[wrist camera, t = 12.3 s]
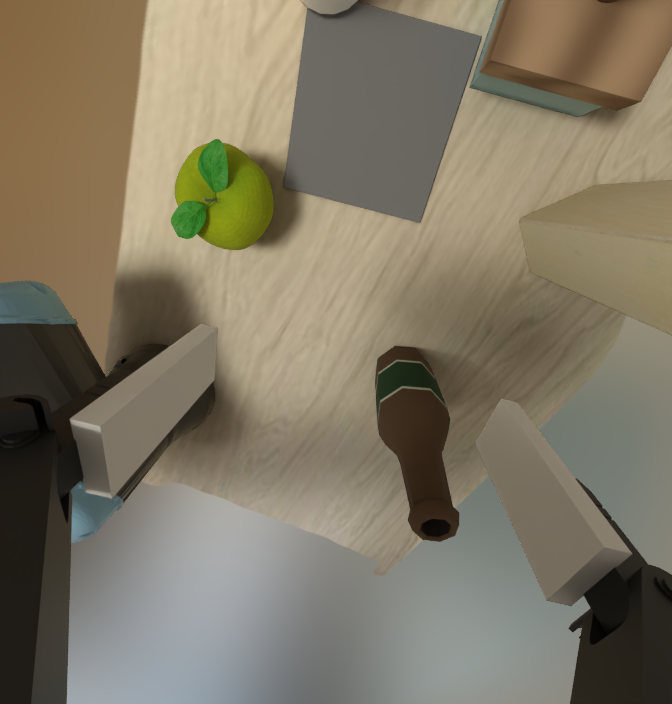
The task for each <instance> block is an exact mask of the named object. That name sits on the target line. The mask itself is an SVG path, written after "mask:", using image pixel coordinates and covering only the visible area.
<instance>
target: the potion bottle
mask: <svg viewBox="0 0 672 704" xmlns="http://www.w3.org/2000/svg"><path fill="white" fill-rule="evenodd" d="M301 1H302V2H303V4H304V5H305V6H306V7H308V8H310V9H312V10H314V11H316V12H318V13H320V14H337V13H339V12H342V11H345V10H347V9H349V8H350V7H351V6H352V5H353V4H354V3H356V2H357V1H358V0H301Z"/></svg>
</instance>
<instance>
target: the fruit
mask: <svg viewBox="0 0 672 704" xmlns="http://www.w3.org/2000/svg"><path fill="white" fill-rule="evenodd" d="M175 198H176V202H177V204H178V206H179V207H178V208H177V209H176V211H175V212H174V214H173V216H172V218H171V223H172V226H173V228H174V230H175V232H176V233H177V235H178V236H179V237H182V238H185V239H189V238H192V237H194V236H195V235H196V234H198V235H199V236H200V237H201V238H202V239H204V240H205V241H207V242H209V243H210V244H213V245H215V246H217V247H220V248H224V249H229V250H241V249H245V248H247V247H249V246H251V245H252V244H254V243H255V242H256V241H257V240H258V239H259V238H260V237H261V236H262V235H263V233H264V232H265V230H266V229H267V227H268V226H269V224H270V222H271V219H272V216H273V210H274V203H273V194H272V189H271V185H270V182H269V179H268V177H267V175H266V174H265V172H264V171H263V170H262V169H261V168H260V167H259V166H258V165H257V164H256V163H255V162H254V161H253V160H252V159H251V158H250V157H248V156H247V155H246V154H245V153H244V152H242V151H241V150H239V149H238V148H236V147H234V146H232V145H229V144H226V143H222V142H221V141H220V140H219V139H215V140H213V141H211V142H210V143H208V144H205V145H202V146H200V147H198V148H196V149H195V150H193V151H192V153H191V154H190V155H189V156H188V157H187V159H186V160H185V162H184V164H183V165H182V167H181V169H180V171H179V174H178V176H177V180H176V184H175Z"/></svg>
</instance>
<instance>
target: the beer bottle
mask: <svg viewBox="0 0 672 704" xmlns="http://www.w3.org/2000/svg"><path fill="white" fill-rule="evenodd" d="M375 388H376V406H377V424H378V430H379V435H380V437H381V438H382V440H383V442H384V443H385V444H386V445H387V446H388V447H389V448H390V449H391V450H392V451H393V452H394V453H395V454H396V455H397V457H398V459H399V462H400V465H401V469H402V474H403V478H404V483H405V487H406V492H407V497H408V501H409V506H410V513H409V518H408V522H409V524H410V526H411V528H412V530H413V531H414V532H415V533H416V534H417V535H418V536H419V537H420V538H422V539H423V540H430V541H439V542H440V541H443V540H445V539H448V538H450V537H453V536H455V534H456V531H457V529H458V526H459V512H458V511H457V510H456V509H455V508H454V507H453V505H452V501H451V496H450V491H449V487H448V482H447V477H446V473H445V468H444V463H443V459H442V451H443V449H444V445H445V442H446V438H447V434H448V430H449V424H450V417H449V413H448V409H447V407H446V404H445V402H444V399H443V397H442V394H441V392H440V389H439V387H438V384H437V382H436V379H435V377H434V374H433V372H432V369H431V367H430V365H429V363H428V362H427V361H426V360H425V359H424V357H423V356H422V355H421V354H420V353H419V352H418V350H417V349H416V348H406V347H393V348H392V349H390V350H389V351H388V352H386V353H385V354H383V355H382V356H381V357H379V358H378V360H377V369H376V378H375Z"/></svg>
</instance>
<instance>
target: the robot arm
mask: <svg viewBox="0 0 672 704" xmlns="http://www.w3.org/2000/svg"><path fill="white" fill-rule="evenodd" d="M76 324H77V321H76V319H73V318H72V316H71V315H70V314H69V312H68V310H67V309H66V308H65V306H64V304H63V303H62V301H61V300H60V298H59V297H58V295H57V293H56V292H55V291H54V290H53V289H51V288H50V287H49V286H47V285H45V284H43V283H39V282H36V281H14V282H4V283H0V704H66V701H67V699H66V698H67V666H68V633H69V632H68V631H69V599H70V597H69V596H70V563H71V543H74V542H78V541H81V540H84V539H86V538H88V537H90V536H92V535H93V534H94V533H95V532H97V531H98V530H99V529H100V528H101V527H102V526H103V525H104V523H105V522H106V521H107V520H108V519H109V518H110V517H111V516H112V515H113V514H114V512H115V511H117V510H119V509H120V508H121V507H122V505H123V503H124V502H125V500H126V499H127V498H128V497H129V495H130V494H131V493H132V491H133V490H134V489H135V488H136V487H137V485H138V484H139V483H140V481H141V480H142V479H143V478H144V476H145V475H146V474H147V473H148V471H149V470H150V469H151V468H152V466H153V465H154V464H155V462H156V461H157V460H158V459H159V457H160V456H161V455H162V454H163V452H164V451H165V450H166V449H167V447H168V446H169V445H170V444H171V443H172V442H173V441H175V440H177V439H178V438H180V437H181V436H183V435H184V434H186V433H187V432H189V431H191V430H193V429H195V428H196V427H198V426H199V425H200V424H201V423H202V422H203V421H204V420H205V418H206V417H207V416H208V414H209V413H210V412H211V410H212V408H213V405H214V401H215V393H214V388H213V384H212V382H213V381H214V380H215V369H216V351H217V334H218V328H216V327H212V326H208V325H204V324H200V325H198V326H197V327H196V328H194V329H193V330H192V331H190V332H189V333H187V334H186V335H185V336H183V337H182V338H180V339H179V340H178V341H176V342H175V343H174V344H172V345H171V346H165V345H158V344H150V345H144V346H140V347H138V348H136V349H134V350H132V351H131V352H129V353H128V354H126V355H125V356H123V357H122V358H121V359H120V360H119V361H118V362H117V363H116V365H115V366H114V368H113V369H112V371H111V372H110V374H109V375H108V376H107V377H106V376H105V374H104V373H103V371H102V369H101V367H100V366H99V364H98V362H97V360H96V359H95V357H94V355H93V353H92V352H91V350H90V348H89V347H88V345H87V343H86V341H85V340H84V337H83V336H82V334H81V332H80V330H79V328H78V326H77V325H76ZM475 444H476V447H477V449H478V451H479V453H480V455H481V458H482V460H483V462H484V464H485V466H486V469H487V471H488V473H489V475H490V477H491V479H492V482H493V484H494V486H495V488H496V490H497V493H498V495H499V497H500V499H501V501H502V504H503V506H504V508H505V510H506V512H507V515H508V517H509V519H510V521H511V523H512V526H513V528H514V530H515V532H516V534H517V537H518V539H519V541H520V543H521V545H522V548H523V550H524V552H525V554H526V556H527V558H528V561H529V563H530V565H531V567H532V570H533V572H534V574H535V576H536V578H537V581H538V583H539V585H540V587H541V589H542V591H543V594H544V596H545V598H546V600H547V601H551V602H555V603H560V604H564V605H568V606H572V605H573V604H574V603H575V602H577V601H578V600H579V599H580V598H581V597H582V596H585V598H586V600H587V602H588V604H589V605H590V607H591V608H590V609H589V610H588V611H587V612H586V613H584V614H583V615H582V616H581V617H579V618H578V619H577V620H576V621H574V622H573V623H572V624H571V626H570V627H569V629H570V630H571V631H572V632H574V631H575V630H576V629H578V628H582V631H581V636H580V637H579V638H580V644H579V651H578V657H577V663H576V669H575V676H574V682H573V689H572V695H571V701H570V704H672V575H671V574H669V573H668V572H666V571H664V570H662V569H660V568H658V567H655V566H652V565H648V564H647V562H646V561H645V560H644V558H643V557H642V556H641V555H640V553H639V552H638V551H637V550H636V548H635V547H634V546H633V545H632V543H631V542H630V541H629V539H628V538H627V537H626V535H625V534H624V533H623V532H622V530H621V529H620V528H619V527H618V525H617V524H616V523H615V521H613V520H611V516H610V515H609V514H608V512H607V511H606V510H605V509H603V508H602V505H601V504H600V502H599V501H598V500H597V499H596V497H595V496H594V495H593V493H592V492H591V491H590V490H589V489H588V488H586V487H585V486H584V485H583V484H582V483H581V482H580V481H579V480H578V479H576V478H574V476H573V475H572V474H571V472H570V471H569V470H568V469H567V467H566V466H565V465H564V463H563V462H562V461H561V459H560V458H559V457H558V455H557V454H556V453H555V452H554V450H553V449H552V447H551V446H550V445H549V444H548V443H547V441H546V440H545V438H544V437H543V436H542V434H541V433H540V432H539V430H538V429H537V428H536V426H535V425H534V424H533V423H532V421H531V420H530V419H529V417H528V416H527V415H526V413H525V412H524V411H523V409H522V408H521V407H520V405H519V404H518V403H517V402H513V401H509V400H505V399H500V401H499V403H498V404H497V406H496V408H495V410H494V411H493V413H492V415H491V416H490V418H489V420H488V421H487V423H486V425H485V426H484V428H483V430H482V432H481V433H480V435H479V437H478V438H477V440H476V442H475Z"/></svg>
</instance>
